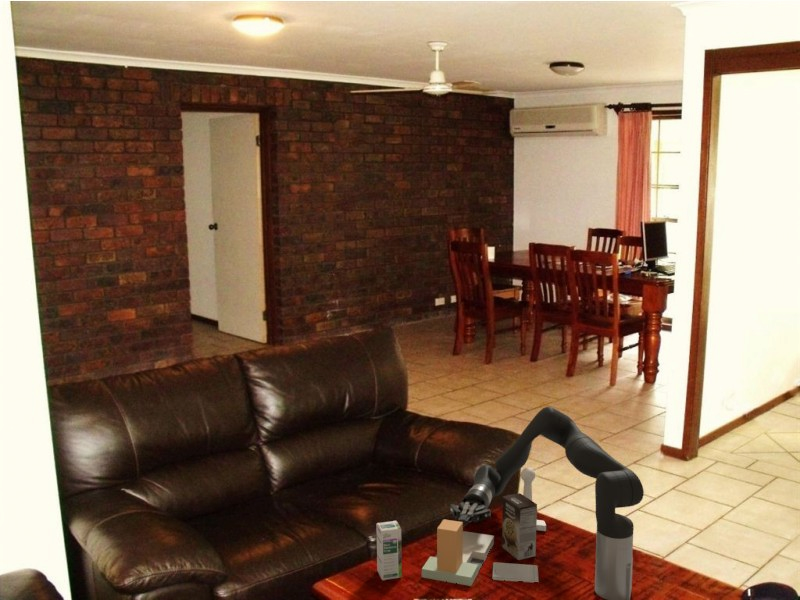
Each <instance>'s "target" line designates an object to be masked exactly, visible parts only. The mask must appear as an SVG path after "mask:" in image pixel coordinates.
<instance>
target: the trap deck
mask: <svg viewBox="0 0 800 600" xmlns="http://www.w3.org/2000/svg"><path fill="white" fill-rule="evenodd" d="M494 541H495V535H491V534H485V533H480V532H479V533H478V532H472V531H471V532H470V531H465V530H463V563H462V564H461V566H460V568H459V570H458V571H457V573H454V572H448V571H442V570H437V553H436V554H435V556H429V557H428V559H427V561H426V562H425V564H424V565H423V567H422V568H421V578H424V579H429V580H435V581H440V582H445V583H446V581H447V583H452V584H456V583H457V584H458V585H463V586H468V587H472V586H473V584H474V581H475V579H476V578H477V576H478V574H479V572H480V571H479V570H481V569H482V567H483V565H484V563H485V561H486V559H487V557H488V556H487V555H489V554H488V553H490V552H491V550H492V548H493V547H494V545H495V542H494ZM490 549H491V550H490ZM489 551H490V552H489ZM482 564H483V565H482ZM480 568H481V569H480Z"/></svg>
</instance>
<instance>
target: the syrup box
mask: <svg viewBox="0 0 800 600" xmlns="http://www.w3.org/2000/svg"><path fill="white" fill-rule="evenodd" d="M375 527H376V564H377V565H376V566H377V567H376V570H377V573H378V575H379V577H380V579H381V580H382V581H386V580H395V579H400V578H402V577H403V570H402V569H403V566H402V565H403V564H402V563H403V561H402V557H403V556H402V553H403V551H402V528H401V526H400V524H399V522H398V521H397V520H393V521H384V522H377V523H376V526H375Z"/></svg>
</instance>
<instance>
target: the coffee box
mask: <svg viewBox="0 0 800 600" xmlns="http://www.w3.org/2000/svg"><path fill="white" fill-rule="evenodd" d="M501 515H502V517H501V518H502V519H501V520H502V522H501V523H502V524H501V525H502V527H501V529H502V531H501V547H502V549H504V550H505V551H506V552H507V553H509V554H510V555H511V556H512V557H513V558H515V559H516V560H518V561H521V560H525V559H529V558H533V557H536V552H537V550H536V548H537V530H536V524H537V520H538V504H537V503H536V502H534V501H533V500H532V501H531V500H530V499H528V498H527V497H525V496H524V495H523V493H520V492H519V493H513V494H507V495H504V496H503V495H502V513H501Z"/></svg>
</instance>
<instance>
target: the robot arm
mask: <svg viewBox="0 0 800 600" xmlns="http://www.w3.org/2000/svg"><path fill="white" fill-rule="evenodd" d="M539 436H542V437H544V438H545V439H547V440H549V441H551V442H553V443H555V444H557V445H559V446H560V447H562V448H563V449H564V451H565V453H564V454H565V457H566V458H567V460H568V462H569V463H570V464H571V465H572V466H573V467H574V468H575V469H576V470H577V471H578V472H579V473H581V474H583V475H586V476H588V477H590V478H593V479H595V486H594V487H595V488H594V491H595V493H594V495H595V518H596V520H595V521H596V540H595V542H596V543H595V567H594V569H595V570H594V592H595V593H596V595H597V596H599V597H600V598H602V599H605V600H631V596H632V587H633V564H634V563H633V562H634V558H633V552H634V551H633V550H634V549H633V548H634V530H635V529H634V528H635V527H634V522H633V520H632V519H630V518H629V517H627V516H625V515H623V514H620V513H616V509H618V508H628V507H634V506H637V505H638V504H640V503H641V502H642V500H643V498H644V493H645V491H644V486H643V484H642V482H641V480H640V478H639V476H638V475H637V474H636V473H635V472H634V471H633V470H632V469H630V468H628V467H627V466H625V465H624V464H622V463H621V462H620V461H618V460H616V459H615V458H614V457H613V456H612V455H610V454H609V453H608V452H607V451H605V450H604V449H603V448H602V447H601V446H600V445H599V444H598V442H596V441H595V440H594V439H592V438H591V437H590V436H589V435H588V434H586V433H584V432H582V431H581V429H580V428H579V427H578V425H577V424H576V423H575V422H574V420H573V419H571V417H570V416H568V415H567V414H565V413H564V412H562V411H559V410H558V409H556V408H554V407H551V406H544V407H543V408H542V409H540V411H538V412H537V414H535V416H534V417H533V418H532V419H531V420H530V422H529V423H528V425H526V427H525V428H524V430H522V433H520V435H519V436H518V437H517V439H516V440H515V441H514V443H513V444H511V446H510V447H509V448H508V449H507V450H505V451H504V453H503V454H502V455H500V456H499V457H498V458H497V459H496V461H495V462H494V467H495V468H493V467H492V466H491V465H489V464H484V465H481V466H480V467H478V469H477V470H476V472H475V474H474V477H473V486H472V487H470V488H469V490H468V491H467V492H466V494H465V496H464V497H463V499H462V501H461V502H459V503H458V505H455V504H454V503H451V504H450V514H452V516H453V517H454V518H455V519H456V521H457V520H458V522H463V528H465V527H466V526H468V525H469V524H470V523H472V522H473V523H478V522H481V521H485V520H490V519H491V509H489V506H490V504H491V503H492V502H491V501H492V499H493V498H494V497H497V496H500V495H501V494H502V493H503V491H504V490H505V488H506V486H507V484H508V482H509V481H510V480H511V478H512V477H513V476H514V475H515V474H516V473H517V472H518V471H519V470H521V468H523V467H524V465H526V463H527V462H528V459H529V456H530V452H531V451H530V450H531V446H532V443H533V441H534V440H535V439H536V438H537V437H539Z"/></svg>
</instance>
